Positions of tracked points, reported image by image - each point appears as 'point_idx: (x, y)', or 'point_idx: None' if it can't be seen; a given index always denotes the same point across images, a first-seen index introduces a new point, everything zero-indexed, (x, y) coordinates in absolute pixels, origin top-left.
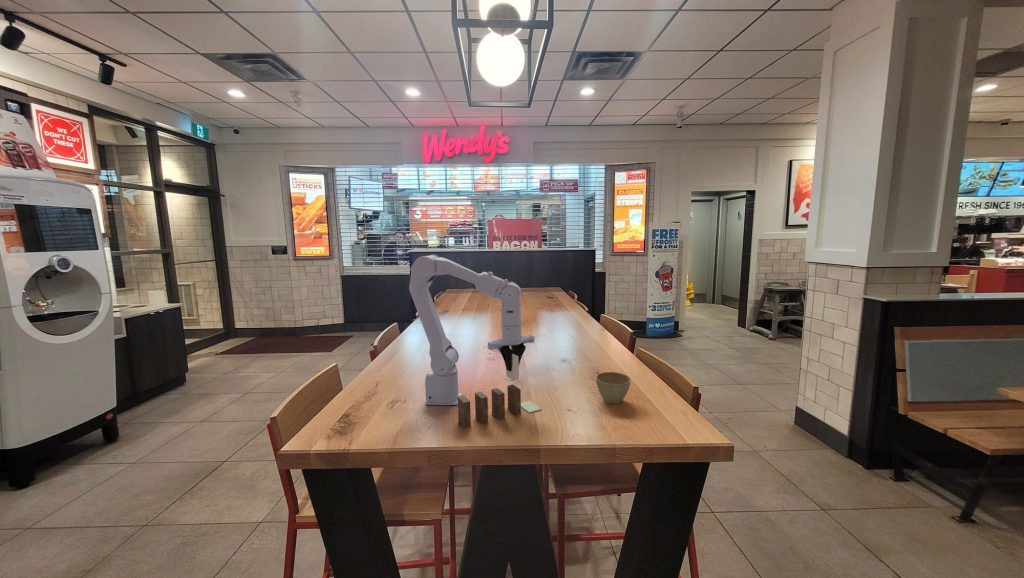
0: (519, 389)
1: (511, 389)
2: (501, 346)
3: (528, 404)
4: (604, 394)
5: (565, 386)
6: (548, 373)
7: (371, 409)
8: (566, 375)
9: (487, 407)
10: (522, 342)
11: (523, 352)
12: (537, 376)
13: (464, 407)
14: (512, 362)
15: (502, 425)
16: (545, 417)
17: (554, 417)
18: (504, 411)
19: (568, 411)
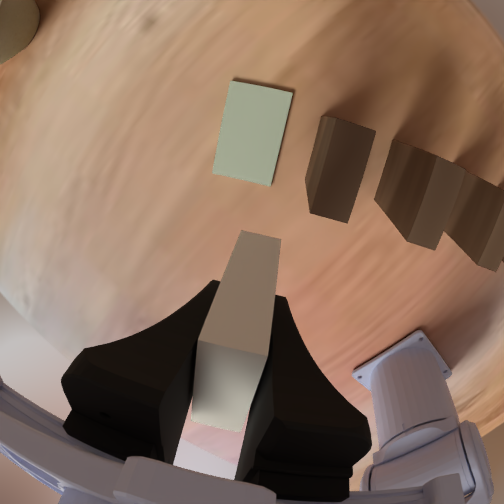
0: (339, 124)
1: (362, 172)
2: (341, 501)
3: (241, 148)
4: (28, 8)
5: (42, 190)
6: (44, 296)
7: (495, 400)
8: (13, 250)
9: (482, 179)
10: (68, 438)
11: (122, 340)
12: (75, 306)
13: None
14: (270, 324)
15: (436, 106)
16: (267, 25)
17: (239, 5)
18: (402, 143)
19: (160, 15)
